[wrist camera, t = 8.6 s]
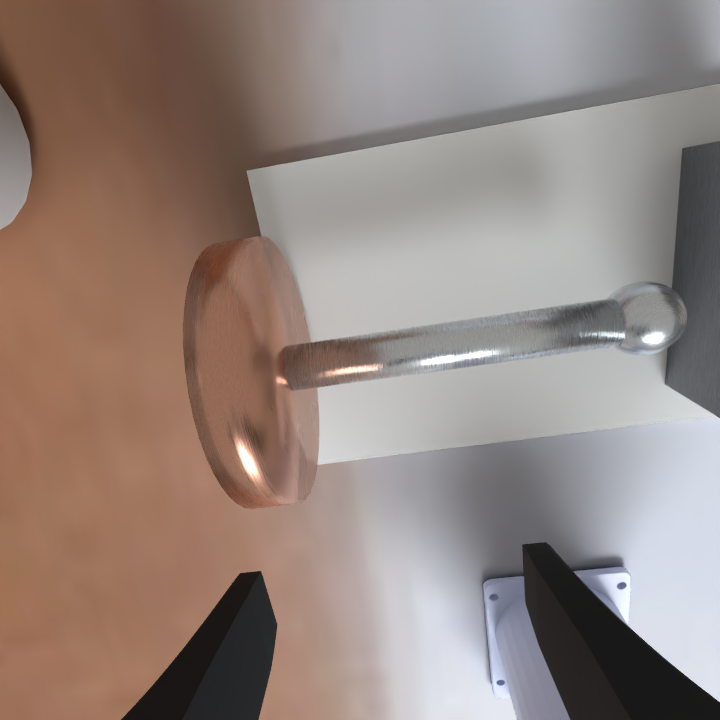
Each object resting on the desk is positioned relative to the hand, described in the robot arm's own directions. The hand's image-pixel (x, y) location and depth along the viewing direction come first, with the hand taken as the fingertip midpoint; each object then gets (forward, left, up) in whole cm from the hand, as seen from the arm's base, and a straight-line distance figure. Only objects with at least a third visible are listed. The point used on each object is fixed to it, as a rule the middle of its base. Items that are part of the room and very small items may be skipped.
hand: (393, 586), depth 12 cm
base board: (+5, -9, -10) cm, 15 cm away
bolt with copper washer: (+5, -2, -9) cm, 11 cm away
